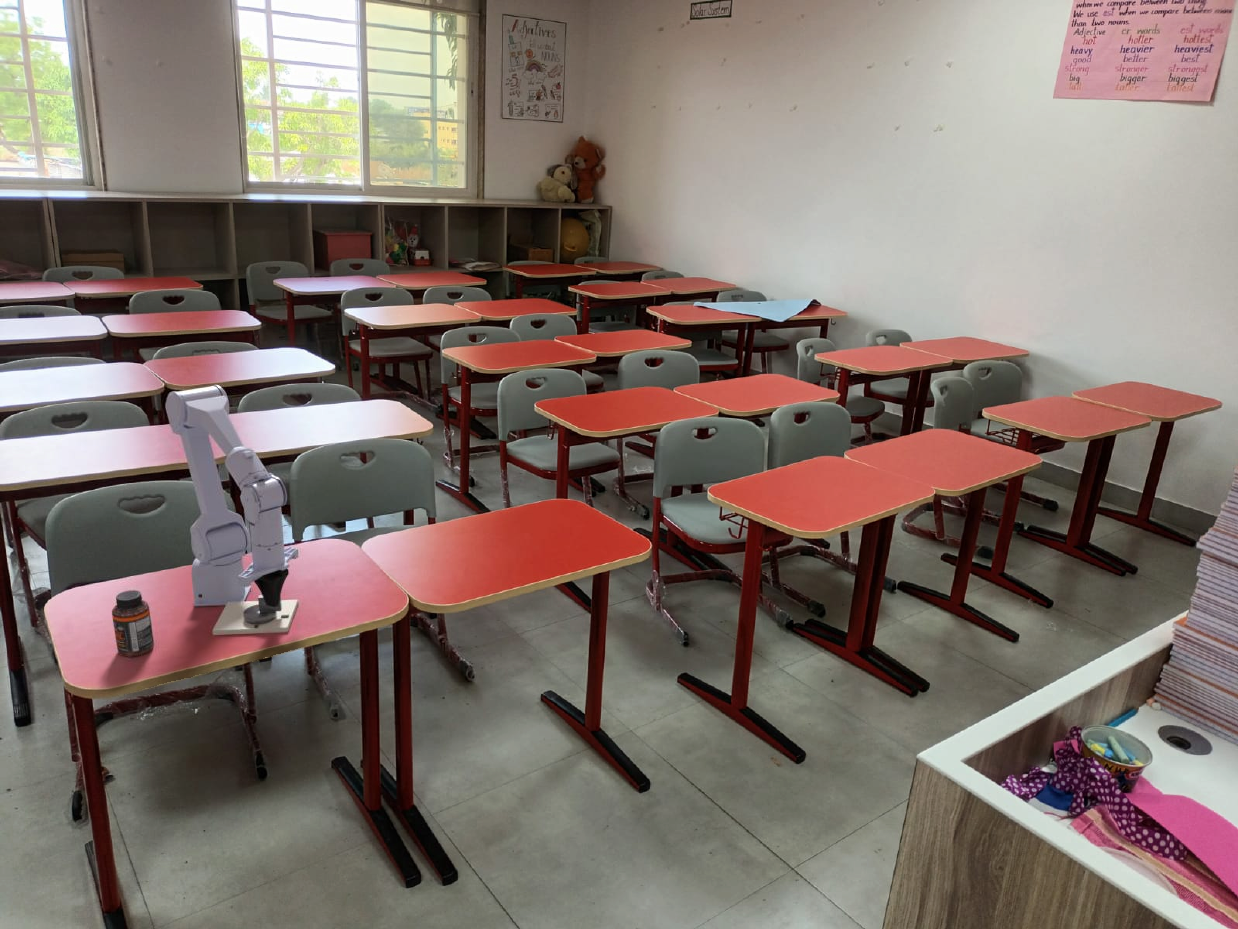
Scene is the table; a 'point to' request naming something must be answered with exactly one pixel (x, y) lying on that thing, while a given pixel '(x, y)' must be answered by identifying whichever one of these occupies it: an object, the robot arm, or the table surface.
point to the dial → (261, 612)
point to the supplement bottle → (132, 624)
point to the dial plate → (235, 624)
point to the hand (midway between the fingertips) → (272, 604)
